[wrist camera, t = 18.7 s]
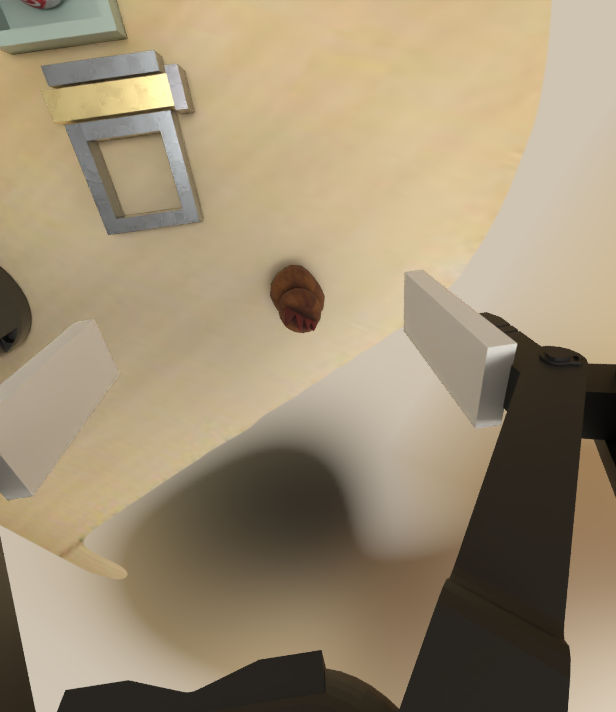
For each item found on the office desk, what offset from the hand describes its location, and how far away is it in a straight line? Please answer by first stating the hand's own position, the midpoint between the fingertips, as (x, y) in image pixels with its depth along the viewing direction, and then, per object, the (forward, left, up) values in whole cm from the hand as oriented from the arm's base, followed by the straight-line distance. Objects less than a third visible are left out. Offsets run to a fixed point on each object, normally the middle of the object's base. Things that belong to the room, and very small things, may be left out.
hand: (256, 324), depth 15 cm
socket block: (-13, +8, -32) cm, 35 cm away
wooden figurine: (+2, -9, -32) cm, 33 cm away
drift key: (-12, +13, -32) cm, 36 cm away
